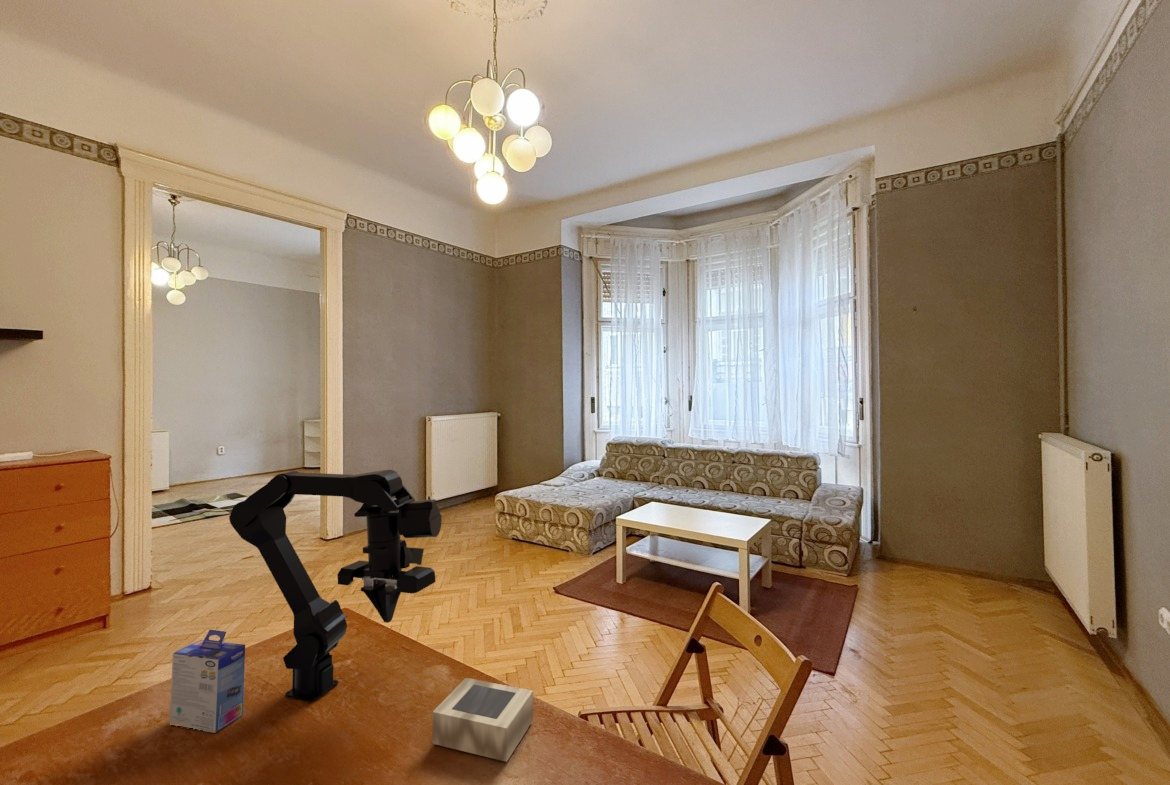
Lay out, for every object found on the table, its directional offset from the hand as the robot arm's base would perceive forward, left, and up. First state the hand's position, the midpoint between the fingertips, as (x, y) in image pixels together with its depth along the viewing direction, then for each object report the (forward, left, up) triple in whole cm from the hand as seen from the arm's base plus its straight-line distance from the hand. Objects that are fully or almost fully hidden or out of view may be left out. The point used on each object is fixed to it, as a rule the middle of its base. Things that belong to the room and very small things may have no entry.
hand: (388, 621), depth 91 cm
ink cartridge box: (-24, -16, -14) cm, 32 cm away
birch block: (+16, -5, -10) cm, 20 cm away
